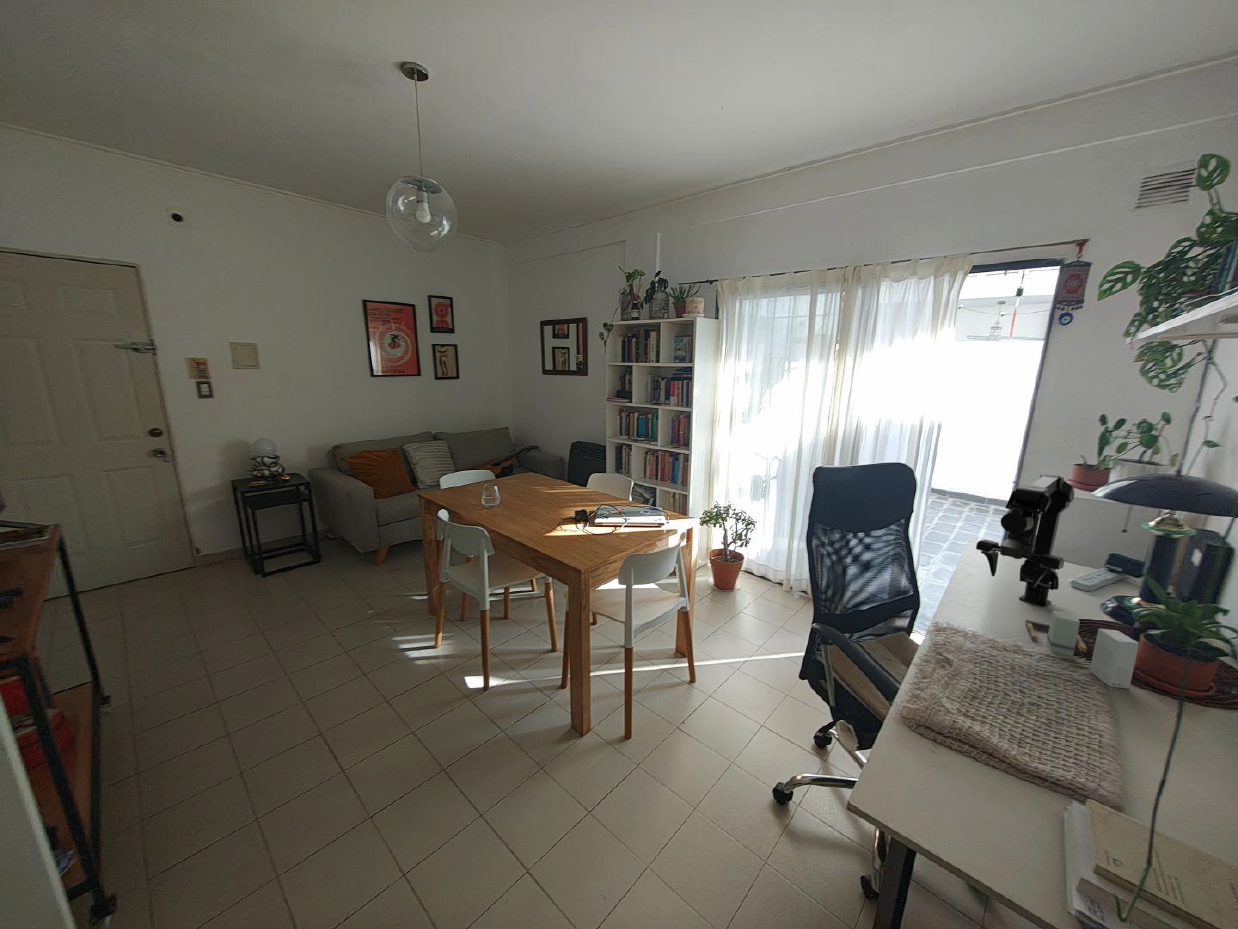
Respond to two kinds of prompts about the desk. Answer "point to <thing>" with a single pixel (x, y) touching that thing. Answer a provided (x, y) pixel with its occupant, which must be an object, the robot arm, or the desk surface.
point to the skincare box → (1114, 658)
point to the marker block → (1063, 633)
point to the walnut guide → (1044, 627)
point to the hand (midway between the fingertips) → (1012, 581)
